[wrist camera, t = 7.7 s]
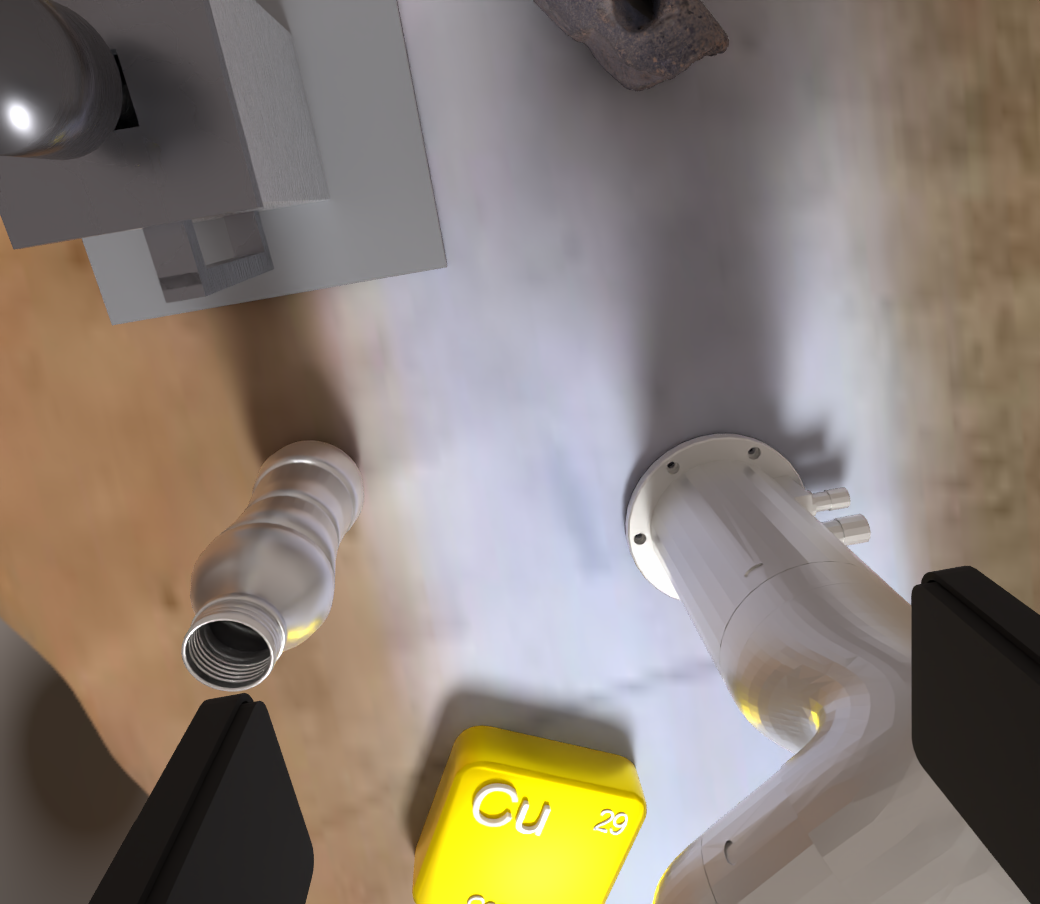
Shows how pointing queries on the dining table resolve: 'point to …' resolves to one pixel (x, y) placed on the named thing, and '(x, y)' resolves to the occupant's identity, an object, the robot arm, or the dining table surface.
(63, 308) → the dining table surface
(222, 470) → the dining table surface
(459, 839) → the element tile
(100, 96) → the dark grey cylinder
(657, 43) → the perforated stone tool
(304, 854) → the robot arm
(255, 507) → the plastic bottle
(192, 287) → the grey block
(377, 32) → the grey board
